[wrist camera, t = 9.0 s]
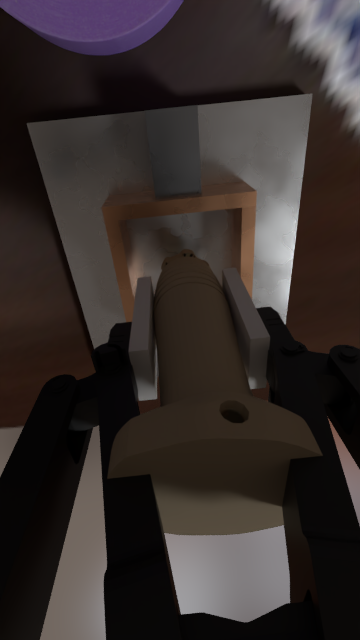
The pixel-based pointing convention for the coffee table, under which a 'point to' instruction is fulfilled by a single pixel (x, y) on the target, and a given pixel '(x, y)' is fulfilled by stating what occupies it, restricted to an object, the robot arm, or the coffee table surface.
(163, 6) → the masking tape
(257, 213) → the coupling base
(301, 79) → the coffee table surface
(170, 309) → the handle
